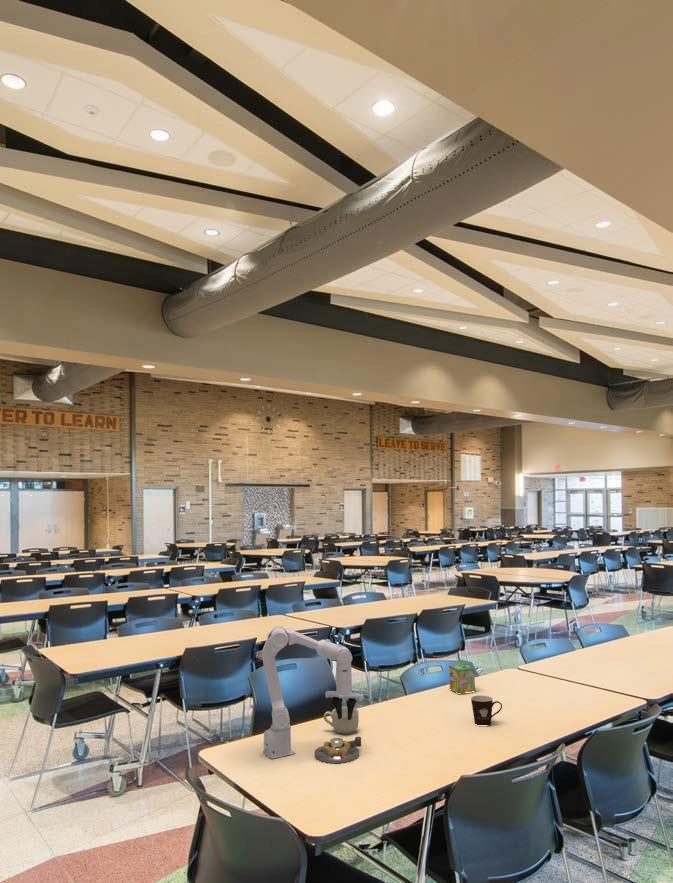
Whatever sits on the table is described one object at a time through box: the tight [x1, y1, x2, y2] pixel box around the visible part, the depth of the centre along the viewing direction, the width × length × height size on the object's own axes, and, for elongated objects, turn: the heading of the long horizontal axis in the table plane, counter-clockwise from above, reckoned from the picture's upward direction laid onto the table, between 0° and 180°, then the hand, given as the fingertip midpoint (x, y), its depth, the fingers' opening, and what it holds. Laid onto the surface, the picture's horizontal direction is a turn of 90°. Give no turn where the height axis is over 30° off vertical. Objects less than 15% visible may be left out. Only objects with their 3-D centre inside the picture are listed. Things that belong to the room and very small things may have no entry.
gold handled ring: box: [322, 736, 362, 757], centre depth 233 cm, size 15×9×3 cm, turn 119°
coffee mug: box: [470, 694, 503, 726], centre depth 262 cm, size 12×9×10 cm
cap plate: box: [314, 737, 360, 765], centre depth 232 cm, size 16×16×5 cm
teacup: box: [323, 706, 360, 735], centre depth 257 cm, size 14×11×8 cm
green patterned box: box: [448, 658, 476, 693], centre depth 309 cm, size 9×9×15 cm
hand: (344, 718), depth 240 cm, fingers open, 3 cm apart
